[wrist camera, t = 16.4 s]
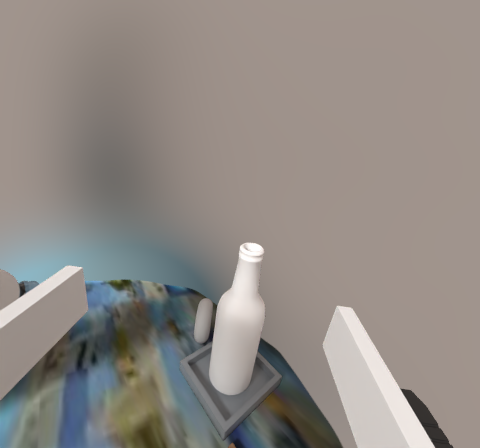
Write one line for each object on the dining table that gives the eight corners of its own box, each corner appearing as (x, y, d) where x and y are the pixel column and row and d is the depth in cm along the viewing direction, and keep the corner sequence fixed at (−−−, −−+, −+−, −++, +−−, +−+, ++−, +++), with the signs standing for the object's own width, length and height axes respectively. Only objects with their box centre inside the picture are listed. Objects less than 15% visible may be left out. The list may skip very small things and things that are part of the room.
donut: (198, 319, 60) (201, 289, 56) (211, 320, 60) (215, 290, 56) (191, 352, 50) (193, 318, 47) (206, 354, 50) (210, 320, 47)
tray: (179, 369, 46) (180, 360, 46) (233, 335, 56) (234, 327, 55) (223, 441, 36) (225, 432, 36) (279, 384, 46) (282, 376, 45)
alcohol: (245, 354, 51) (269, 236, 41) (255, 395, 43) (288, 262, 33) (207, 357, 49) (222, 234, 39) (209, 400, 41) (229, 261, 31)
